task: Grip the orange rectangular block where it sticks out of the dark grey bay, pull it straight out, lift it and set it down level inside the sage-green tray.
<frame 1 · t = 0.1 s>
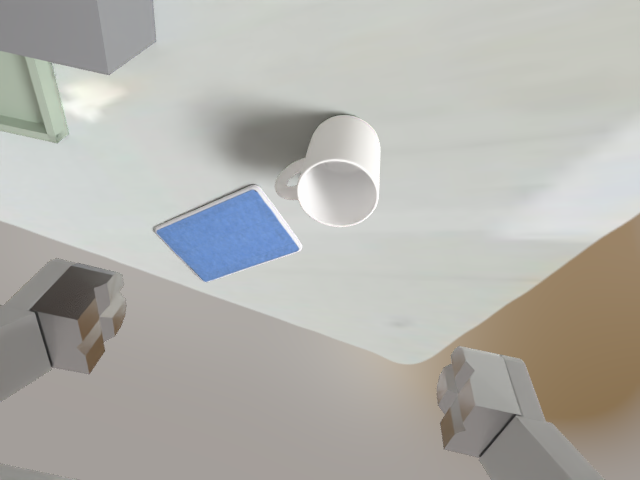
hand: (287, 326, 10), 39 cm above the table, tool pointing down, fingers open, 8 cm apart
tablet computer: (229, 234, 63), on the table
mug: (330, 148, 51), on the table
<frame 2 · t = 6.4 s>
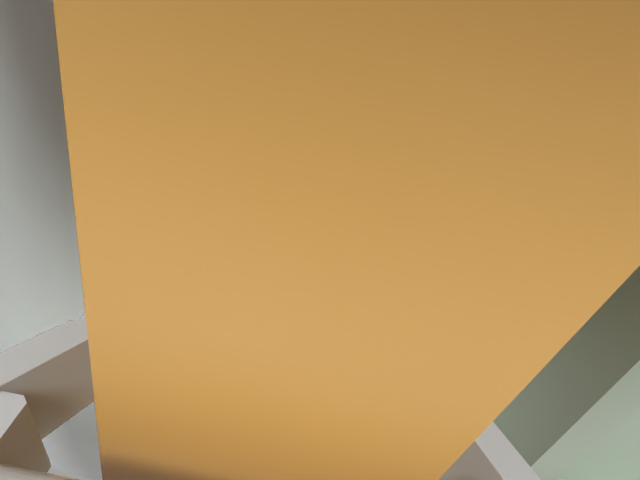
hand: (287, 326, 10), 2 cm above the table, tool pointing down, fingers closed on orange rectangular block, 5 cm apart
orange rectangular block: (330, 176, 10), on the table, touching gripper
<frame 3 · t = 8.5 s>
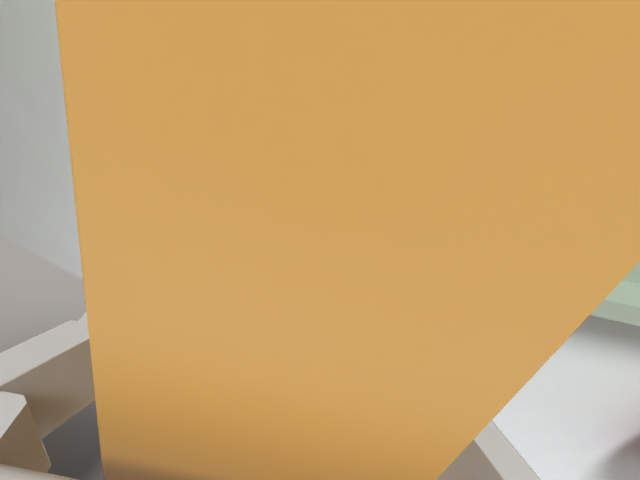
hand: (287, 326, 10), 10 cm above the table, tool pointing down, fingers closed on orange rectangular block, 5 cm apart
orange rectangular block: (329, 176, 10), point 8 cm above the table, touching gripper
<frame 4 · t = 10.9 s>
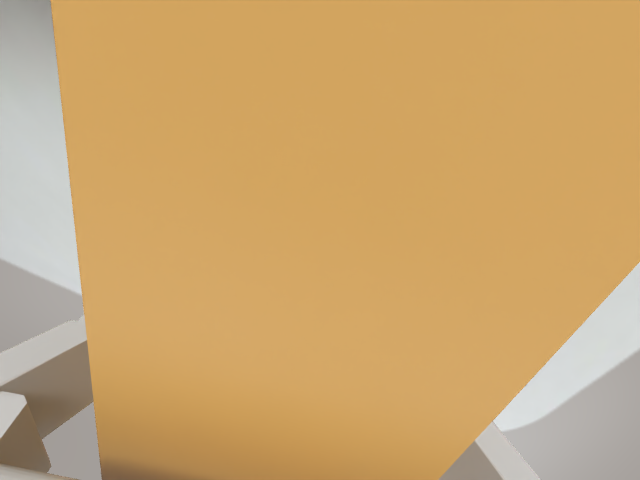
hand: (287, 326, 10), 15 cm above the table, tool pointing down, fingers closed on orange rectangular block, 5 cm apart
orange rectangular block: (329, 178, 10), point 13 cm above the table, touching gripper
when the fingers open (5 cm above the table, at t = 13.0 s): orange rectangular block drops 2 cm, resting on tray.
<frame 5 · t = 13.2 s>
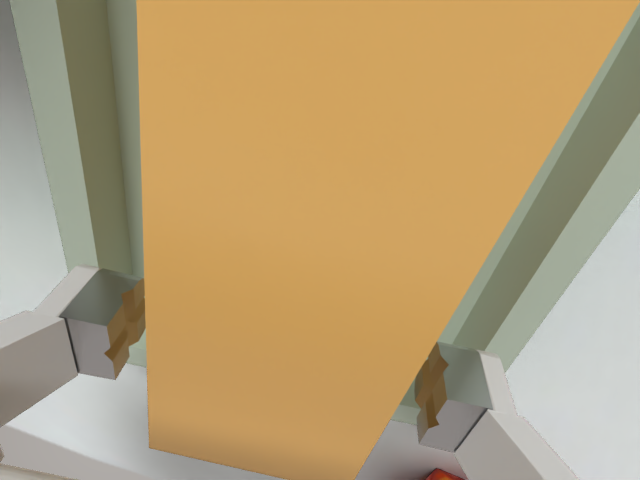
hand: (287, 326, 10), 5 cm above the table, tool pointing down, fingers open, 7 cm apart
tray: (330, 141, 12), on the table
orange rectangular block: (328, 153, 12), point 1 cm above the table, touching tray
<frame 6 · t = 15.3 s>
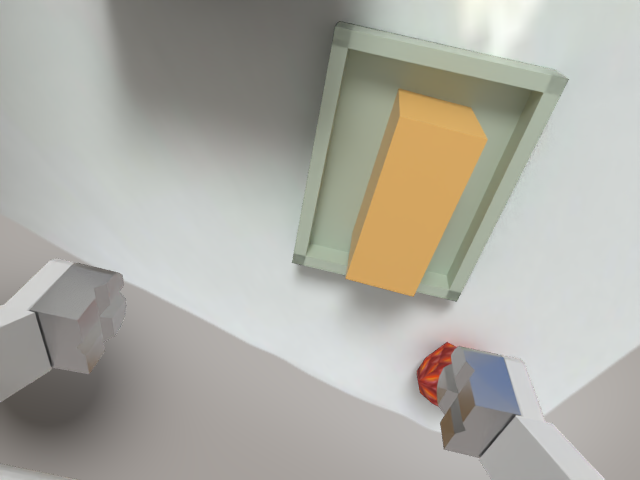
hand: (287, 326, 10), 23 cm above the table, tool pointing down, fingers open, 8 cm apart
tray: (405, 172, 32), on the table
orange rectangular block: (405, 177, 31), point 1 cm above the table, touching tray
red bumpy oval lump: (450, 354, 42), on the table
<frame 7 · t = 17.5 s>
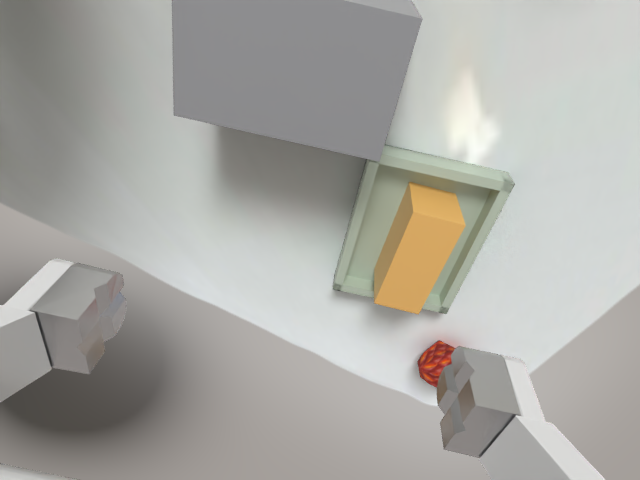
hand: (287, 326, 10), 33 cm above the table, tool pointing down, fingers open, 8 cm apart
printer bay: (305, 43, 37), on the table
tray: (411, 229, 47), on the table
orange rectangular block: (412, 233, 47), point 1 cm above the table, touching tray
red bumpy oval lump: (441, 349, 58), on the table
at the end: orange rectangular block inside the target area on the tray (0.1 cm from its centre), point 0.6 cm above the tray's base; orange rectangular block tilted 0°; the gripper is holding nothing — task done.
